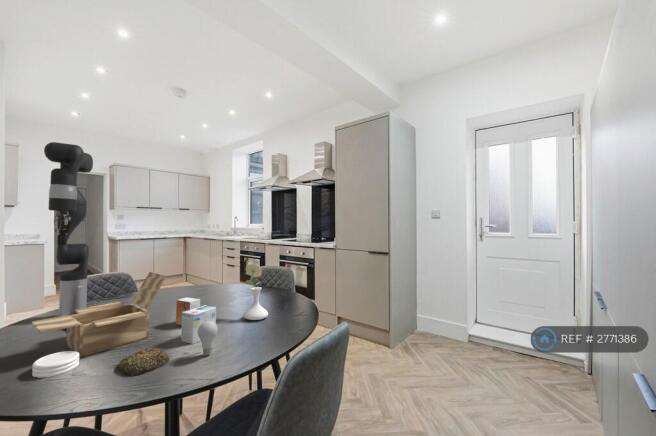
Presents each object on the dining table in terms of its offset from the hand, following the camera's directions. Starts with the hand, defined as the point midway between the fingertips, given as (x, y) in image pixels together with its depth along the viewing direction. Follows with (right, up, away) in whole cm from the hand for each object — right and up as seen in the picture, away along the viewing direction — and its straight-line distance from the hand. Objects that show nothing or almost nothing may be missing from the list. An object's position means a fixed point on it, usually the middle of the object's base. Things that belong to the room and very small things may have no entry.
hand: (61, 245), depth 104 cm
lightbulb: (+57, -36, -10) cm, 68 cm away
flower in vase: (+63, -37, +28) cm, 78 cm away
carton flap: (+23, -25, +8) cm, 35 cm away
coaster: (+18, -35, -20) cm, 44 cm away
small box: (+37, -36, +19) cm, 55 cm away
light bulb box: (+48, -36, +4) cm, 60 cm away
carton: (+15, -35, -4) cm, 38 cm away
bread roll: (+41, -35, -16) cm, 57 cm away
